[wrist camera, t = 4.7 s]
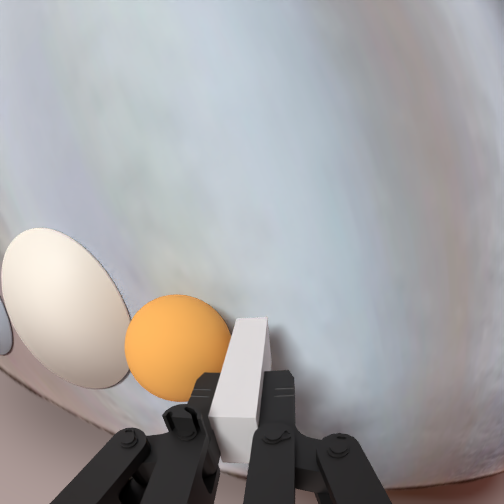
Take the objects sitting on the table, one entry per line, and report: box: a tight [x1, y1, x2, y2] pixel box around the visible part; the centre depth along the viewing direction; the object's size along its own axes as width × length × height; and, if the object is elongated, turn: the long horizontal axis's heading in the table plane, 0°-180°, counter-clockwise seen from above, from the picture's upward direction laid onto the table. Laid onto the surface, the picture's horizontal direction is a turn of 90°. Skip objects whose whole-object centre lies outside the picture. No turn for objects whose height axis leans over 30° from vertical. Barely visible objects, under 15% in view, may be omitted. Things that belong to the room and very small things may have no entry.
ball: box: [124, 295, 231, 402], centre depth 15 cm, size 6×6×6 cm
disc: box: [1, 228, 131, 389], centre depth 18 cm, size 13×13×1 cm
